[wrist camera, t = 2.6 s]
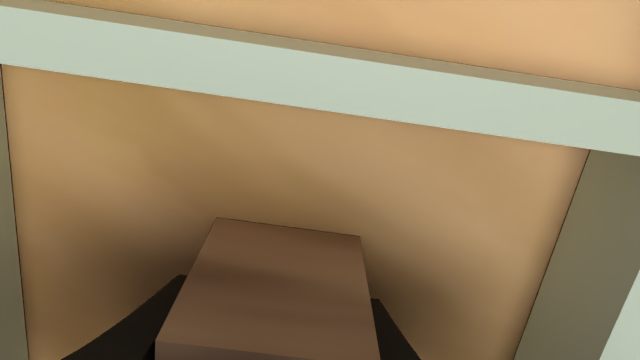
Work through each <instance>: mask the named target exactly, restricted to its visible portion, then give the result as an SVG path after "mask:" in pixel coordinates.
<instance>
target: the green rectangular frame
mask: <svg viewBox="0 0 640 360" xmlns="http://www.w3.org/2000/svg"><path fill="white" fill-rule="evenodd" d="M0 64H7V65H13V66H20V67H27V68H34V69H41V70H48V71H55V72H62V73H69V74H75V75H82V76H89V77H96V78H103V79H110V80H117V81H124V82H131V83H138V84H144V85H151V86H158V87H165V88H172V89H179V90H186V91H193V92H200V93H207V94H213V95H220V96H227V97H234V98H241V99H248V100H255V101H262V102H269V103H275V104H282V105H289V106H296V107H303V108H310V109H317V110H324V111H331V112H338V113H344V114H351V115H358V116H365V117H372V118H379V119H386V120H393V121H400V122H407V123H413V124H420V125H427V126H434V127H441V128H448V129H455V130H462V131H469V132H475V133H482V134H489V135H496V136H503V137H510V138H517V139H524V140H531V141H538V142H544V143H551V144H558V145H565V146H572V147H579V148H586V149H591V151H590V153H589V156H588V159H587V162H586V164H585V167H584V170H583V172H582V175H581V178H580V181H579V183H578V186H577V189H576V191H575V194H574V197H573V200H572V202H571V205H570V208H569V210H568V213H567V216H566V219H565V221H564V224H563V227H562V230H561V232H560V235H559V238H558V240H557V243H556V246H555V249H554V251H553V254H552V257H551V259H550V262H549V265H548V268H547V270H546V273H545V276H544V278H543V281H542V284H541V287H540V289H539V292H538V295H537V298H536V300H535V303H534V306H533V308H532V311H531V314H530V317H529V319H528V322H527V325H526V327H525V330H524V333H523V336H522V338H521V341H520V344H519V346H518V349H517V352H516V355H515V357H514V360H640V91H637V90H630V89H623V88H617V87H610V86H604V85H597V84H591V83H584V82H577V81H571V80H564V79H558V78H551V77H545V76H538V75H531V74H525V73H518V72H512V71H505V70H499V69H492V68H486V67H479V66H472V65H466V64H459V63H453V62H446V61H440V60H433V59H426V58H420V57H413V56H407V55H400V54H394V53H387V52H380V51H374V50H367V49H361V48H354V47H348V46H341V45H334V44H328V43H321V42H315V41H308V40H302V39H295V38H288V37H282V36H275V35H269V34H262V33H256V32H249V31H243V30H236V29H229V28H223V27H216V26H210V25H203V24H197V23H190V22H183V21H177V20H170V19H164V18H157V17H151V16H144V15H137V14H131V13H124V12H118V11H111V10H105V9H98V8H91V7H85V6H78V5H72V4H65V3H59V2H52V1H45V0H0ZM0 360H28V350H27V339H26V329H25V318H24V308H23V298H22V287H21V277H20V266H19V256H18V245H17V235H16V225H15V214H14V204H13V193H12V183H11V172H10V162H9V152H8V141H7V131H6V120H5V110H4V99H3V89H2V78H1V68H0Z"/></svg>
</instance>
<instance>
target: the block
mask: <svg viewBox="0 0 640 360" xmlns="http://www.w3.org/2000/svg"><path fill="white" fill-rule="evenodd" d="M155 360H380V354H379V348H378V342H377V336H376V330H375V324H374V318H373V312H372V307H371V301H370V295H369V289H368V283H367V277H366V271H365V265H364V259H363V254H362V248H361V242H360V236H352V235H345V234H337V233H329V232H322V231H314V230H307V229H299V228H292V227H284V226H276V225H269V224H261V223H254V222H246V221H238V220H231V219H223V218H216V220H215V222H214V224H213V226H212V228H211V230H210V232H209V234H208V236H207V238H206V240H205V242H204V244H203V246H202V248H201V250H200V252H199V254H198V256H197V258H196V260H195V262H194V264H193V266H192V268H191V270H190V272H189V274H188V276H187V278H186V280H185V282H184V284H183V286H182V288H181V290H180V292H179V294H178V296H177V298H176V300H175V302H174V304H173V306H172V308H171V310H170V312H169V314H168V316H167V318H166V320H165V322H164V324H163V326H162V328H161V330H160V332H159V334H158V336H157V338H156V340H155Z"/></svg>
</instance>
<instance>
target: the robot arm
mask: <svg viewBox="0 0 640 360" xmlns="http://www.w3.org/2000/svg"><path fill="white" fill-rule="evenodd" d="M187 276H188V275H181V274H179V275H178V276H177V277H175V278H174V279H173V280H171V281H170V282H169V283H168V284H167V285H165V286H164V287H163V288H162V289H161V290H160V291H158V292H157V293H156V294H155V295H154V296H152V297H151V298H150V299H149V300H147V301H146V302H145V303H144V304H142V305H141V306H140V307H139V308H137V309H136V310H135V311H133V312H132V313H131V314H130V315H128V316H127V317H126V318H124V319H123V320H122V321H120V322H119V323H117V324H116V325H115V326H113V327H112V328H110V329H109V330H107V331H106V332H105V333H103V334H102V335H100V336H99V337H97V338H96V339H94V340H93V341H91V342H90V343H88V344H87V345H85V346H84V347H82V348H80V349H79V350H77V351H75V352H73V353H72V354H70V355H68V356H66V357H65V358H63V359H61V360H155V340H156V338H157V336H158V334H159V332H160V330H161V328H162V326H163V324H164V322H165V320H166V318H167V316H168V314H169V312H170V310H171V308H172V306H173V304H174V302H175V300H176V298H177V296H178V294H179V292H180V290H181V288H182V286H183V284H184V282H185V280H186V278H187ZM370 301H371V307H372V312H373V318H374V324H375V330H376V336H377V342H378V348H379V354H380V360H421V359H420V358H419V356H418V355H417V354H416V352H415V351H414V350H413V348H412V347H411V346H410V344H409V343H408V342H407V340H406V339H405V337H404V336H403V335H402V333H401V332H400V330H399V329H398V327H397V326H396V324H395V323H394V321H393V320H392V318H391V317H390V315H389V314H388V312H387V311H386V309H385V308H384V306H383V305H382V303H381V302H380V300H379V299H372V298H370Z"/></svg>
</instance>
